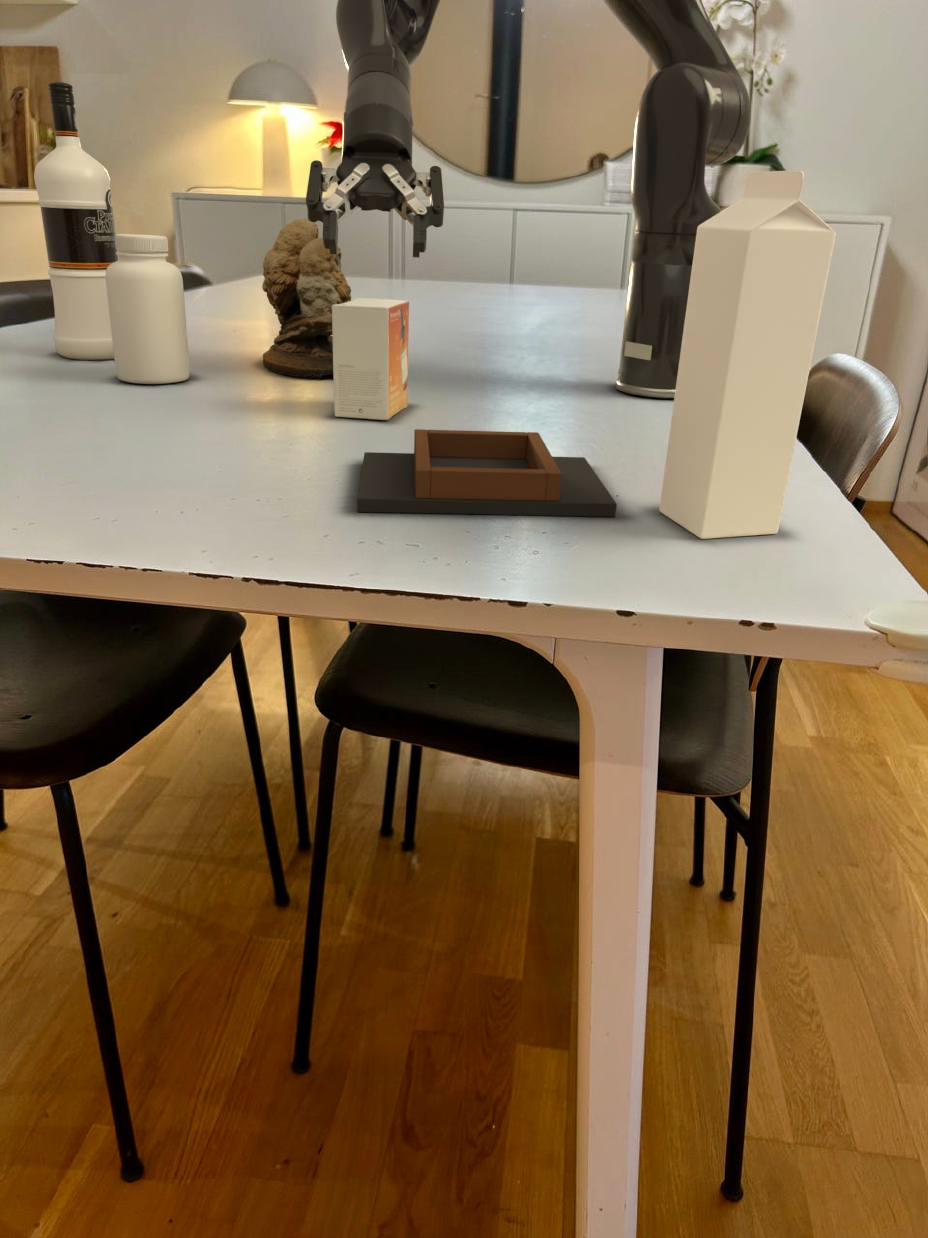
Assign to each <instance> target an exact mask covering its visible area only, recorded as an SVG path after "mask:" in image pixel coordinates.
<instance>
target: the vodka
mask: <svg viewBox="0 0 928 1238" xmlns="http://www.w3.org/2000/svg"><path fill="white" fill-rule="evenodd" d="M47 86H48V90H49V91H48V92H49V98H50V99H49V100H50V104H51V114H52V122H53V129H54V136H55V148H54V149H53V150H52V151H50V152H49V153H48V154H47V155H45V156H44V157H43V158H42V159H40V160H39V161H38V162H37V164H36V166H35V167H34V173H33V179H34V184H35V189H36V192H37V196H38V199H37V203H38V205H39V206H40V212H41V213H40V214H41V219H42V220H41V221H42V227H43V232H44V233H43V234H44V241H45V249H46V255H47V260H48V267H49V269H48V271H47V275H48V276H49V280H50V287H51V291H52V298H53V308H54V335H53V342H54V348H55V350H56V352H57V354H59V355H60V356H61V357H63V358H65V359H70V360H77V361H78V360H80V361H106V360H115V359H114V350H113V341H112V332H111V323H110V314H109V305H108V296H107V287H106V277H105V275H106V270H107V268H108V266H109V265H110V264H112V263H114V262H116V261H119V255H116V252H118V249H116V244H115V235H116V229H115V219H114V211H113V201H112V194H111V178H110V175H109V172H108V170H107V169H106V168H105V166H104V165H103V164H101V162H99V161H98V160H96V158H94V157H93V156H91V155H90V154H89V153H87V152H86V151H85V150H84V149H83V148H82V146H81V140H80V136H79V128H78V120H77V113H76V112H77V111H76V107H75V106H76V104H75V103H76V102H75V96H74V89H73V88H74V87H73V85H72V84H70V83H67V82H63V81H53V82H49V83H48V85H47Z"/></svg>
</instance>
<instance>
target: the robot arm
mask: <svg viewBox="0 0 928 1238" xmlns="http://www.w3.org/2000/svg"><path fill="white" fill-rule="evenodd" d="M603 2H604V3H605V5H606V7H607V8H608V9H609V11H610V12H611V13H612V14H613V15H614V16H615V18H616V19H617V20H618V21H619V22H620V23H621V25H622V26H623V27H624V28H625V30H627V32H628V33H629V34H630V35H631V36H632V38H633V39H634V40H635V42H637V43H638V45H640V47H641V48H642V49H643V50H644V52H645V53H646V54H647V56H648V58H649V59H650V60H651V62H652V64H653V66H654V67H655V69H656V72H655V73H654V74H653V75H652V76H651V77H650V78H649V80H648V82H647V83H646V85H645V87H644V90H643V92H642V93H641V97H640V100H639V104H638V107H637V113H636V118H635V125H634V137H633V151H632V152H633V153H632V165H631V167H632V168H631V183H630V184H631V185H630V197H631V198H630V200H631V205H632V209H633V212H634V232H633V239H632V250H631V259H630V267H629V276H628V287H627V294H626V304H625V311H624V312H625V314H624V322H623V331H622V339H621V347H620V357H619V367H618V373H617V374H618V376H617V379H616V389H617V390H619V391H620V392H623V393H625V394H629V395H634V396H639V397H640V396H641V397H647V398H655V399H656V398H657V399H658V398H659V399H674V397H675V390H676V382H677V375H678V368H679V360H680V353H681V345H682V338H683V331H684V323H685V316H686V308H687V301H688V294H689V286H690V279H691V271H692V264H693V257H694V249H695V242H696V234H697V228H698V226H699V225H700V224H702V223H704V222H705V221H707V220H708V219H710V218H712V217H713V216H715V215H716V214H718V213H720V212H721V211H722V210H721V209H722V208H720V206H719V205H718V204H717V203H716V202H715V201H714V200H713V199H712V197H711V196H710V194H709V192H708V190H707V187H706V183H705V179H706V178H705V176H706V167H714V166H718V165H722V164H725V163H727V162H729V161H730V160H732V159H733V158H734V157H736V155H738V153H739V152H740V151H741V149H743V146H744V145H745V143H746V141H747V138H748V135H749V132H750V128H751V123H752V106H751V99H750V94H749V91H748V89H747V86H746V84H745V81H744V79H743V78H742V75H741V74H740V73H739V71H738V68H737V67H736V65H735V63H734V62H733V60H732V58H731V57H730V55H729V53H728V51H727V49H726V47H725V46H724V44H723V42H722V40H721V38H720V37H719V35H718V33H717V31H716V29H715V27H714V25H713V24H712V22H711V19H710V17H709V15H708V13H707V11H706V8H705V6H704V3H703V1H702V0H603ZM440 3H441V0H337V2H336V9H335V21H336V22H335V24H336V31H337V35H338V39H339V43H340V47H341V52H342V55H343V59H344V62H345V66H346V69H347V90H346V99H345V103H344V108H343V114H342V120H341V121H342V145H341V161H340V164H339V165H338V166H337V168H334V167H333V168H331V167H323V162H322V161H320V160H318V159H317V160H313V161H311V162H310V166H309V167H310V168H309V175H308V182H307V187H306V188H307V189H306V195H305V204H306V210H307V219H308V220H309V221H311V222H315V223H317V222H321V223H322V238H323V244H324V247H325V249H330V254H337V246H338V243H339V241H338V240H339V223H340V222H341V221H342V220H344V218H346V219H348V218H350V216H352V214H354V213H355V212H356V211H357V210H358V209H360V210H361V211H365V212H366V211H368V212H369V211H374V210H376V211H381V212H388V213H389V212H390V213H391V212H392V211H391V210H394V211H395V212H396V213H397V214H398V215H399V217H401V219H402V220H404V221H407V222H408V223H409V224H410V225H411V226H412V258H418V259H419V258H420V254H421V253H425V252H426V250H427V238H428V237H427V233H428V232H427V230H428V228H429V227H431V226H433V227H434V228H441V227H442V226H443V225H444V216H445V215H444V214H445V213H444V212H445V199H444V187H443V174H442V168H441V167H440V166H439V165H432V166H430V168H429V172H417V171H416V170H415V168H414V167H413V128H414V119H413V117H414V116H413V108H412V103H411V102H412V101H411V98H412V95H411V91H412V77H411V76H412V74H411V68H410V67H411V66H412V65H413V64H414V63H415V62H416V60H417V59H418V58H419V57H420V55H421V53H422V51H423V49H424V48H425V44H426V42H427V39H428V37H429V34H430V31H431V29H432V25H433V22H434V19H435V16H436V13H437V11H438V8H439V5H440ZM334 183H336V184H337V187H335V191H334V193H332V195H331V196H330V197H329V198H327V200H325V201H324V202H323V195H324V193H327V192H328V189H330V187H331V186H332V184H334ZM417 187H419V188H421V191H422V192H423V194H425V197H427V198H429V204H430V205H429V206H425V205H424V203H422V201H421V200H420V199H419V198H418V197H417V194H416V192H415V189H416V188H417Z"/></svg>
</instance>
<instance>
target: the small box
mask: <svg viewBox="0 0 928 1238" xmlns="http://www.w3.org/2000/svg"><path fill="white" fill-rule="evenodd" d="M409 318H410V301H409V300H401V299H384V298H369V297H368V298H367V297H356V298H354V299H353V300H352V299H351V301H349V302H346V303H342V304H335V305H332V332H333V335H332V336H333V374H332V375H333V406H334V407H333V409H334V416H335V417H336V418H351V419H365V420H366V419H367V420H381V421H389V420H390V419H392V417H393V416H394V415H397V413H399V412H401V411H402V410H404V409H406V408H407V407H408V405H409V404H408V401H409V399H408V398H409V397H408V395H409V394H408V393H409V338H410V337H409V335H410V334H409V330H410V329H409V327H410V324H409V323H410V322H409V321H410V319H409Z"/></svg>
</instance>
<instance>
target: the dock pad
mask: <svg viewBox="0 0 928 1238" xmlns="http://www.w3.org/2000/svg"><path fill="white" fill-rule="evenodd" d="M413 432H414V435H413V437H414V439H413V452H412V453H411V452H374V451H373V452H372V451H369V452H368V451H365V452H364V454H363V459H362V466H361V472H360V477H359V484H358V489H357V499H356V504H357V505H356V511H357V512H358V513H390V514H397V513H399V514H443V515H444V514H447V515H449V514H450V515H453V514H454V515H493V516H494V515H495V516H497V515H498V516H501V515H503V516H547V517H548V516H553V517H555V516H556V517H601V518H602V517H603V518H604V517H605V518H611V517H612V518H614V517H616V512H617V501H616V500H615V499H614V498H613V497H612V495H611V494H610V492H609V491H608V489H607V488H606V486H605V485H604V483H603V482H602V480H601V479H600V478H599V476H598V474H597V473H596V472H595V470H594V469H593V468H592V466H591V465H590V463H589V462H588V461H587V459H586V457H581V456H580V457H579V456H553V455H552V454H551V452H550V450H549V448H548V447H547V445H546V443H545V442H544V440H543V438H542V436H541V435H540V433H539V432H537V431H535V432H533V431H532V432H531V431H499V430H497V431H495V430H492V431H491V430H490V431H489V430H457V429H417V428H416V429H415V428H414V431H413Z"/></svg>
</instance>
